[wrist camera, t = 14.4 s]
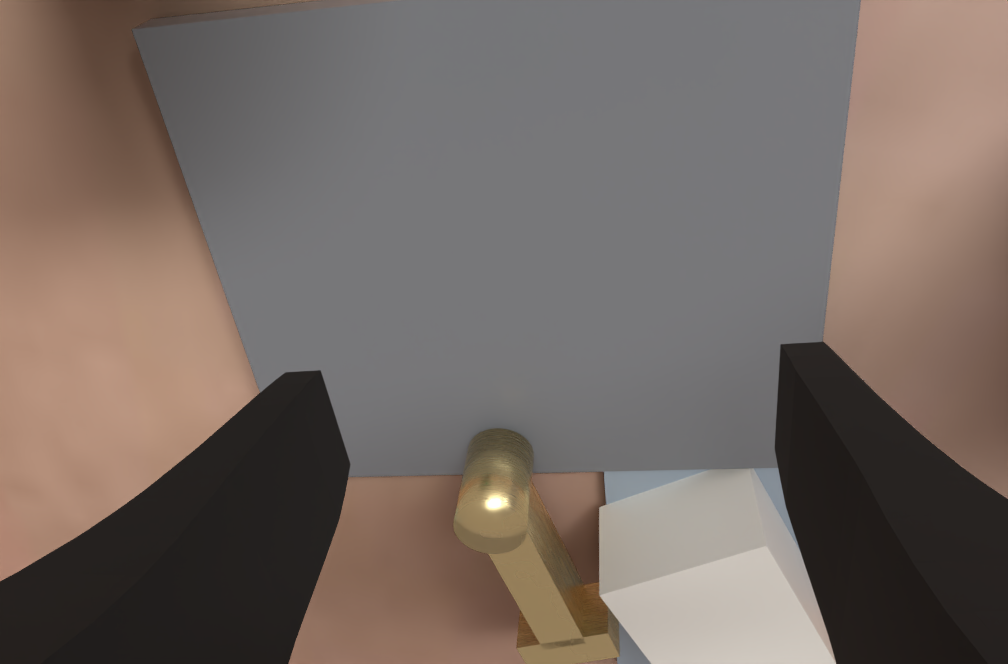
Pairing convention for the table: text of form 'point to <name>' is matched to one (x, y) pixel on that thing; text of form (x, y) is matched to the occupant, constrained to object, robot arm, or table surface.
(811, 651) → the white rectangular block
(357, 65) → the base plate
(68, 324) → the table surface
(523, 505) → the brass T-key
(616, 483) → the mat
